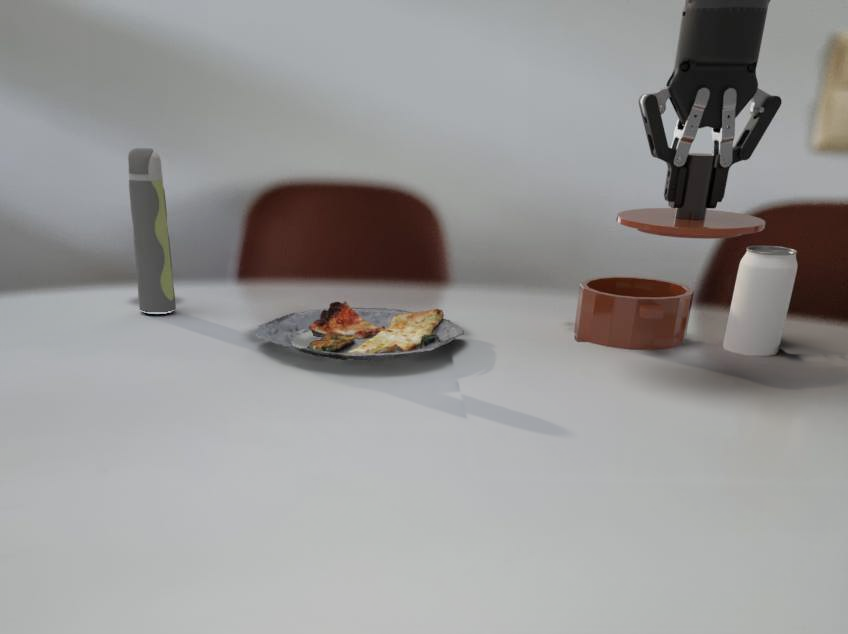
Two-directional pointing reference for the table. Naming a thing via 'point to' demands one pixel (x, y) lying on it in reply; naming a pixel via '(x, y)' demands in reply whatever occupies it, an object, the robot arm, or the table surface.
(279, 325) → the food plate
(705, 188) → the cover
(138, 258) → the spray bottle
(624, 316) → the dish
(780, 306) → the can
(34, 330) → the table surface
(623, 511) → the table surface
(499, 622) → the table surface
